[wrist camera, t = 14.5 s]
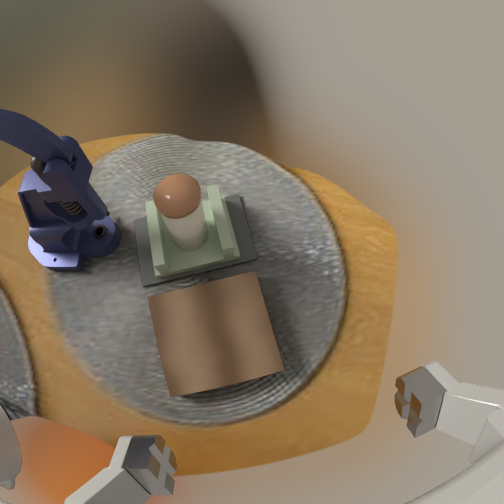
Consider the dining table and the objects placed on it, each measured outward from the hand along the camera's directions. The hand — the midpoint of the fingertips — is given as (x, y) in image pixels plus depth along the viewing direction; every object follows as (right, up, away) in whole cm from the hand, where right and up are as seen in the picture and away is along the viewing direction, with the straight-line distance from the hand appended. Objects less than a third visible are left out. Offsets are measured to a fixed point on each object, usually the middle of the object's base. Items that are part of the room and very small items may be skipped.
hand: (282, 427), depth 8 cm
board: (-5, -4, +23) cm, 24 cm away
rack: (-8, +7, +27) cm, 29 cm away
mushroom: (-8, +8, +26) cm, 28 cm away
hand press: (-26, +7, +27) cm, 38 cm away
